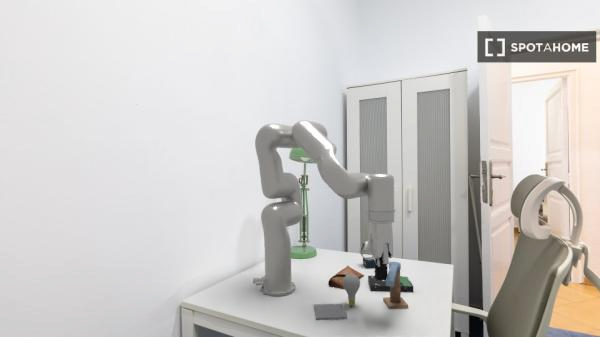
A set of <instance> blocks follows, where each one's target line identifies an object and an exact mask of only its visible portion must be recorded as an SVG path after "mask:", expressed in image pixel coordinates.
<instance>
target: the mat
mask: <svg viewBox="0 0 600 337" xmlns="http://www.w3.org/2000/svg"><path fill="white" fill-rule="evenodd" d="M313 307H314V313H315V319H316V321H320V320H321V321H323V320H347V319H348V316H347V314H346V310H345V307H344V305H343V303H323V304H321V303H320V304H318V303H315V304H313Z"/></svg>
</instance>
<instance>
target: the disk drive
mask: <svg viewBox="0 0 600 337" xmlns="http://www.w3.org/2000/svg"><path fill="white" fill-rule="evenodd" d="M367 281H368V285H369V289H370V291H371V292H381V293H382V292H385V293H386V292H387V293H388V292H389V293H390V286H386V280H377V279H376V278H375V275H367ZM400 293H414V285H413V283H412V281H411V280H410V279H409V277H408V276H401V275H400Z"/></svg>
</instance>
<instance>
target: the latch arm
mask: <svg viewBox="0 0 600 337" xmlns="http://www.w3.org/2000/svg"><path fill="white" fill-rule="evenodd" d="M401 266H402V265H401V262H398V261H389V264H388V269H389V270H388V271H387V278H386V286H391V287H393V286H394V282H395V279H396V275H397V271H398V270H400V271H401Z"/></svg>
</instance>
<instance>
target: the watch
mask: <svg viewBox="0 0 600 337" xmlns="http://www.w3.org/2000/svg"><path fill="white" fill-rule="evenodd" d="M367 249H368V240H366V241H364V242H362V244H361V245H360V247H359V254H360V256H361V257H362V265H363V267H364V268H365V269H366V270H369V269H375V265H377V264H375V257H374V256H373V255H372V256H371V257H365V256H364V253H365V252H366V251H367Z"/></svg>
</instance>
